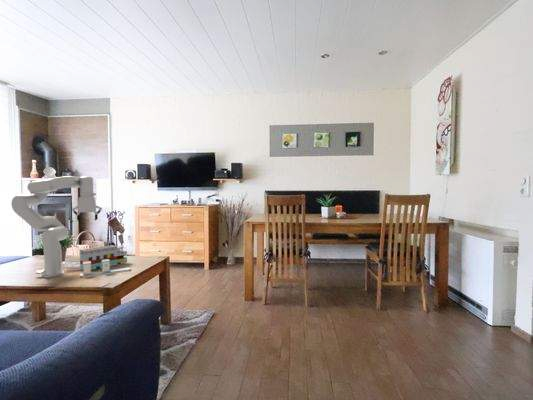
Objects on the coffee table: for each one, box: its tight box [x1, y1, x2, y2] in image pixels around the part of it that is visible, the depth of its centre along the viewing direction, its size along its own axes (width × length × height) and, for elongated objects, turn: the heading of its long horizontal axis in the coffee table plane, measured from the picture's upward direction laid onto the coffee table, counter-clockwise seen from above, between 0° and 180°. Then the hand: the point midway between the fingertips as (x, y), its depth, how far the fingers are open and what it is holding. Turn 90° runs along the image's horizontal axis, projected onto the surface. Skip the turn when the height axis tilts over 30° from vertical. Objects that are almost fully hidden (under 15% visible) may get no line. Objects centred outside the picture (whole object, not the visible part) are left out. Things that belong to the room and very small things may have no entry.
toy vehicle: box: [79, 244, 128, 271], centre depth 223 cm, size 8×30×15 cm, turn 143°
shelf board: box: [79, 267, 132, 278], centre depth 206 cm, size 30×11×2 cm, turn 122°
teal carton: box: [101, 259, 111, 273], centre depth 206 cm, size 4×7×8 cm, turn 32°
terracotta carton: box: [82, 261, 92, 275], centre depth 200 cm, size 4×7×8 cm
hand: (87, 220), depth 203 cm, fingers open, 9 cm apart
